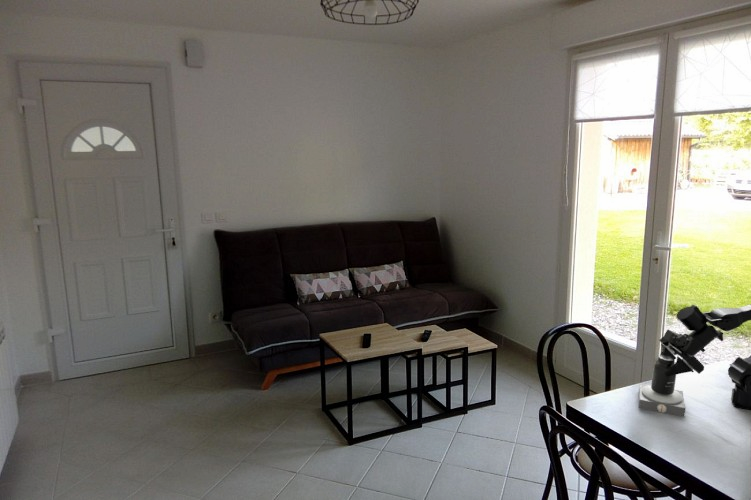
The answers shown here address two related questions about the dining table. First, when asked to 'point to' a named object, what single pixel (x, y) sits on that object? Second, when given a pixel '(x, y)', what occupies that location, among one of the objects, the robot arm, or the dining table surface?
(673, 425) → the dining table surface
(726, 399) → the dining table surface
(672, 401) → the kitchen scale
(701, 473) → the dining table surface
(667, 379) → the supplement bottle
